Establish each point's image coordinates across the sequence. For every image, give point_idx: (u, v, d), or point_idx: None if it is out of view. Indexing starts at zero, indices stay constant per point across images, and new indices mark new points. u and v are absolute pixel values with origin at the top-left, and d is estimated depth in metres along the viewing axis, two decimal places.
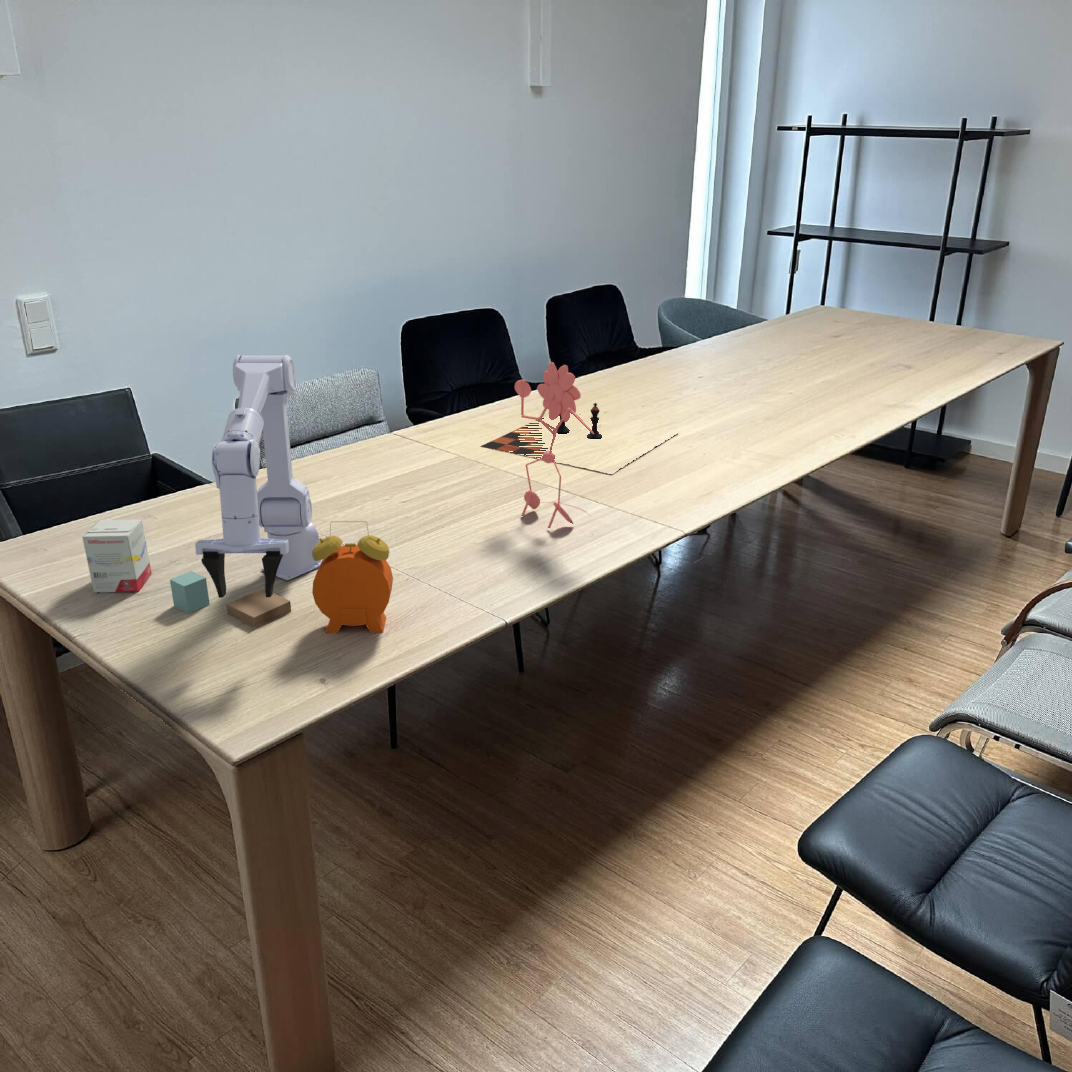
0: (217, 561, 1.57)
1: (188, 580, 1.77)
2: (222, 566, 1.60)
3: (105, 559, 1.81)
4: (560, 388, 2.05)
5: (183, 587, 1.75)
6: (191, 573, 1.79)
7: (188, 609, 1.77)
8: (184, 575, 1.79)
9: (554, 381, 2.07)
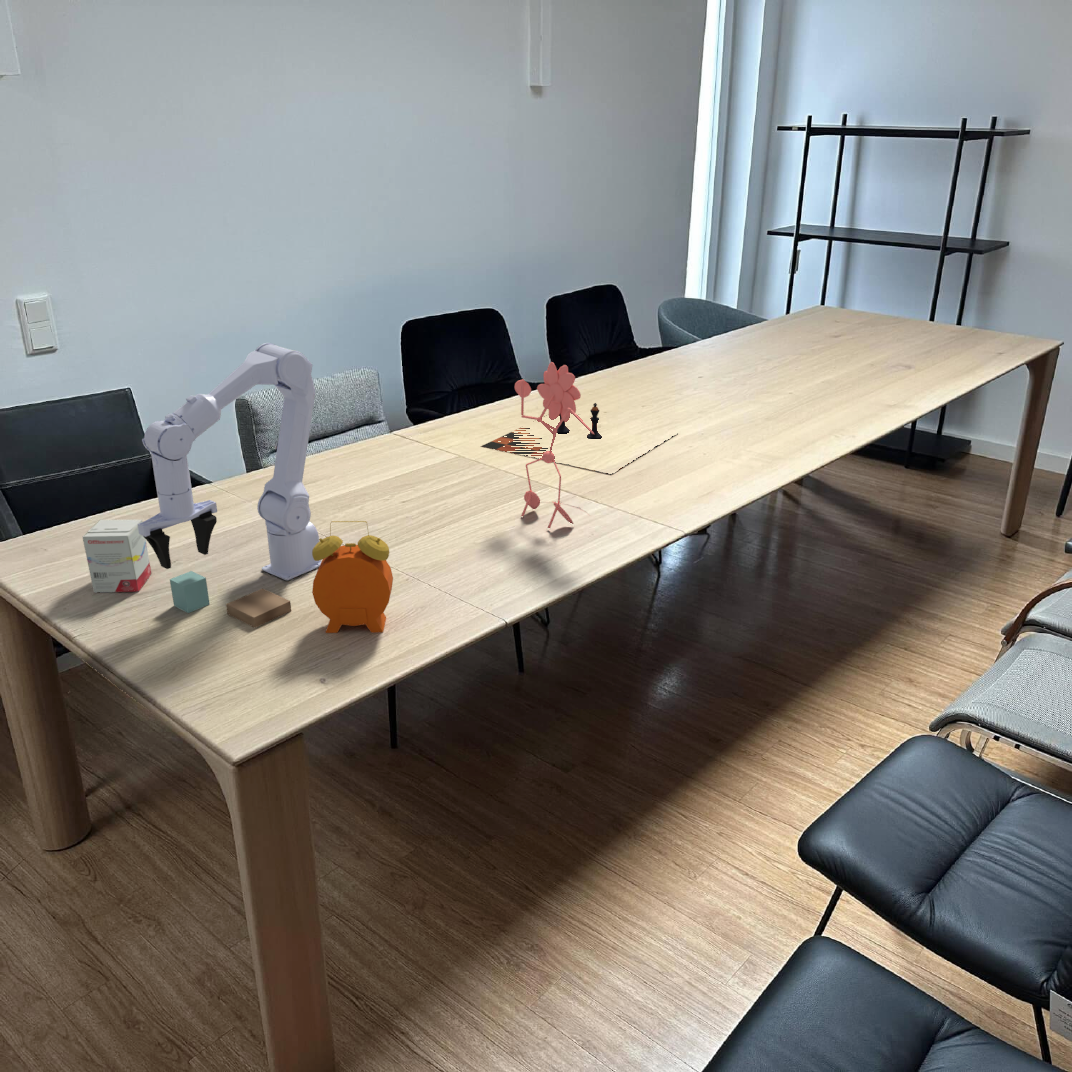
0: (192, 519, 1.77)
1: (188, 580, 1.77)
2: (201, 530, 1.76)
3: (105, 559, 1.81)
4: (560, 388, 2.05)
5: (183, 587, 1.75)
6: (191, 573, 1.79)
7: (188, 609, 1.77)
8: (184, 575, 1.79)
9: (554, 381, 2.07)
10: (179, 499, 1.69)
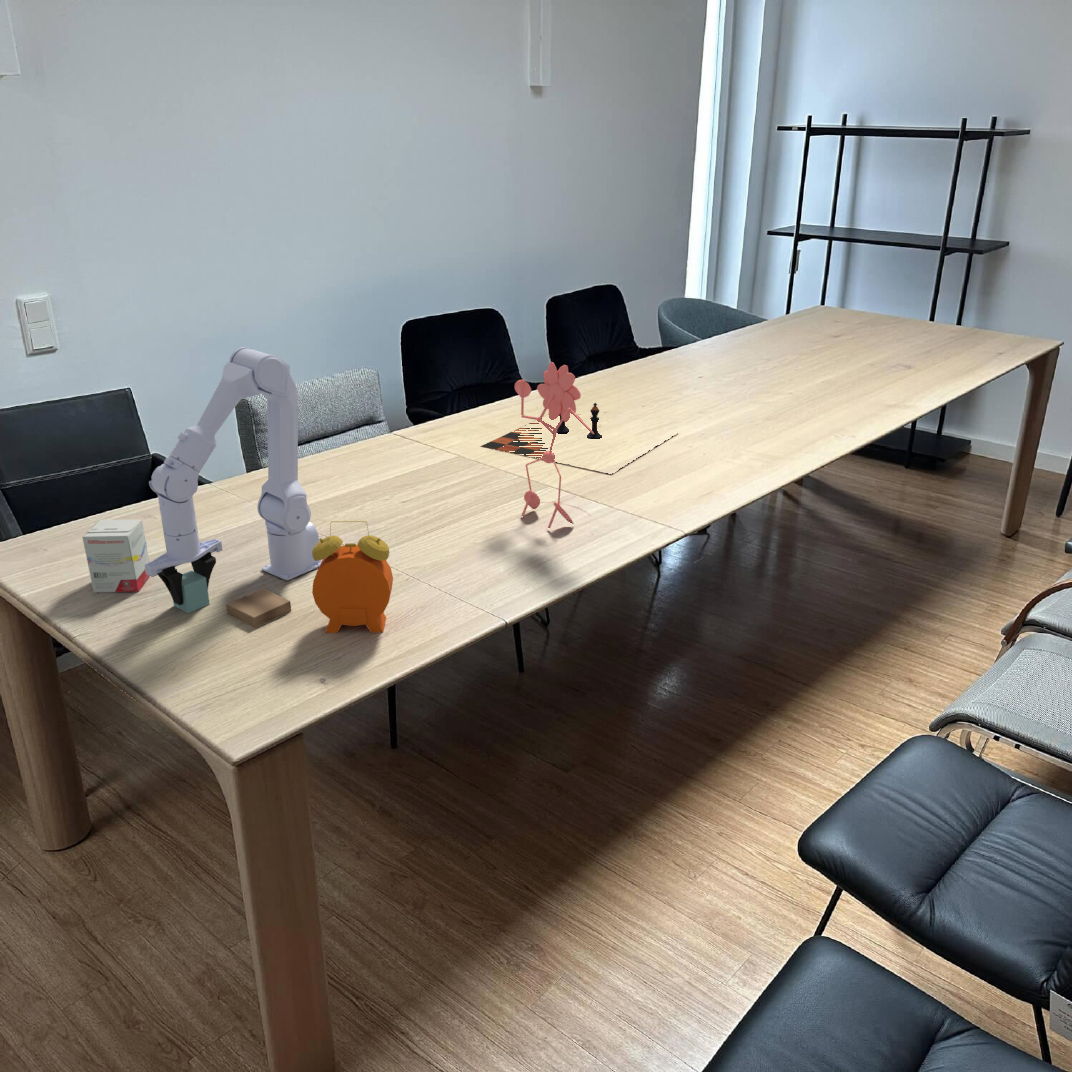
0: None
1: (188, 579, 1.77)
2: (201, 571, 1.79)
3: (105, 559, 1.81)
4: (560, 388, 2.05)
5: (183, 587, 1.75)
6: (191, 573, 1.79)
7: (188, 609, 1.77)
8: (184, 575, 1.79)
9: (554, 381, 2.07)
10: (185, 540, 1.72)
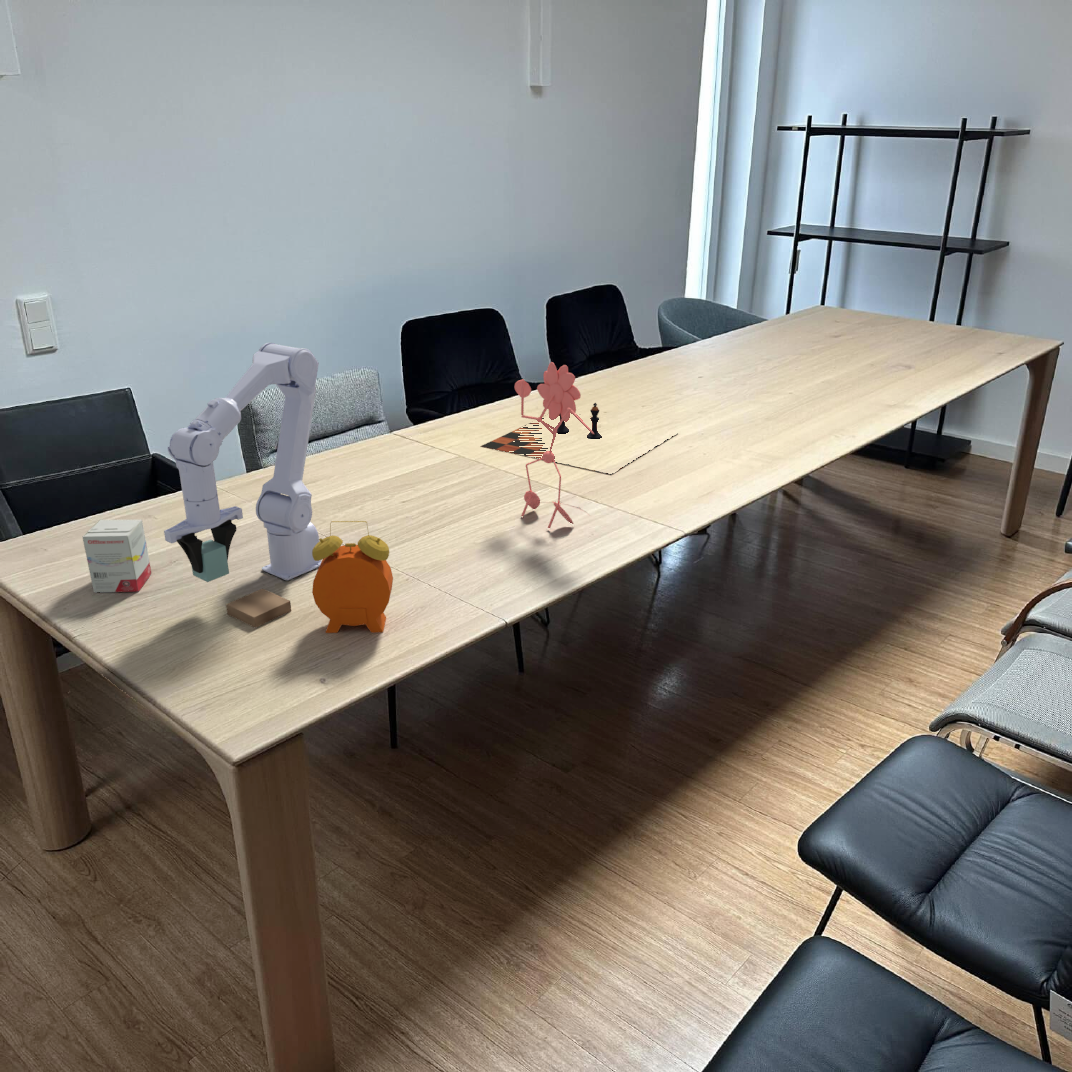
0: (212, 527, 1.76)
1: (208, 548, 1.73)
2: (221, 539, 1.75)
3: (105, 559, 1.81)
4: (560, 388, 2.05)
5: (202, 555, 1.72)
6: (210, 541, 1.76)
7: (207, 578, 1.73)
8: (203, 543, 1.75)
9: (554, 381, 2.07)
10: (205, 506, 1.68)
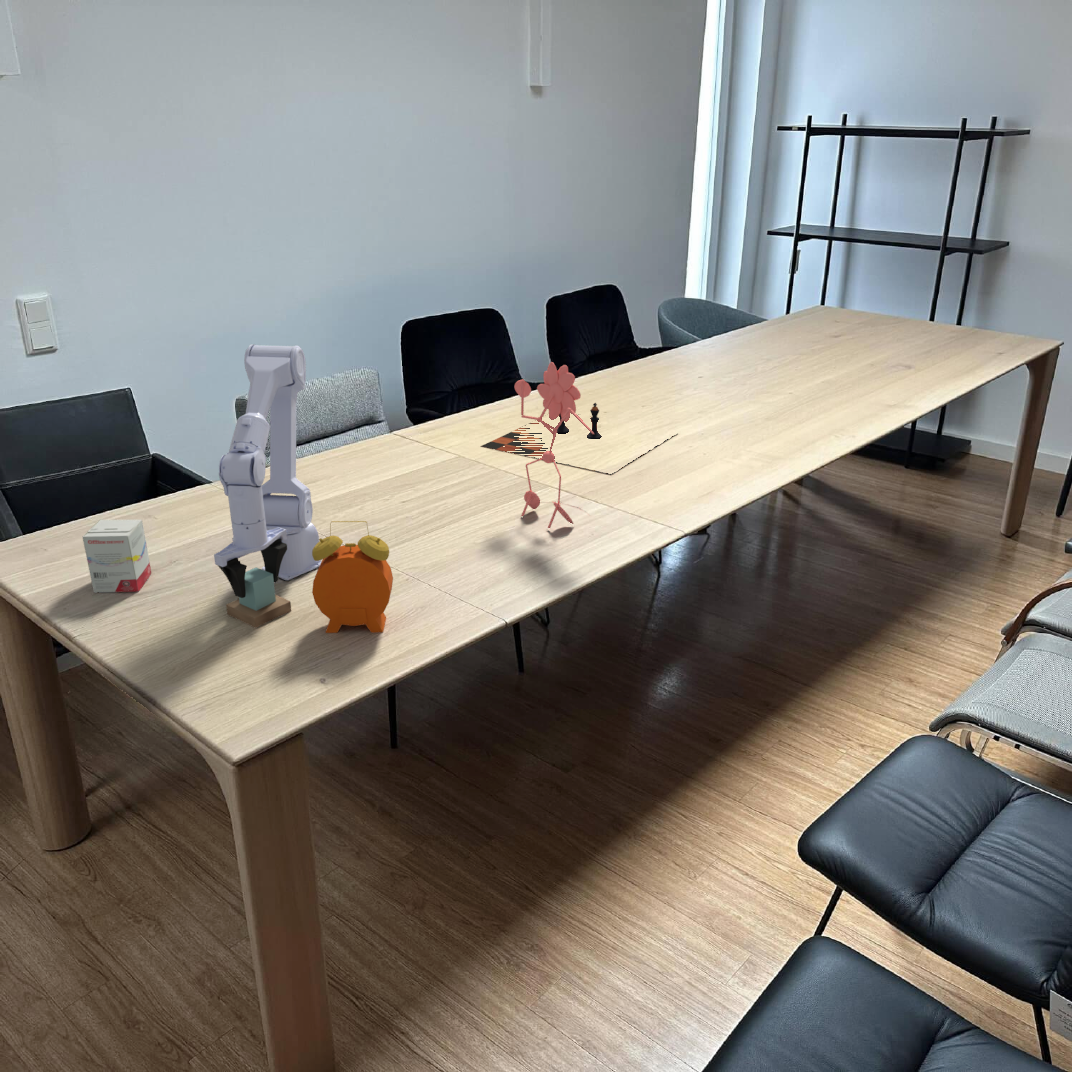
0: None
1: (256, 576, 1.74)
2: (272, 558, 1.76)
3: (105, 559, 1.81)
4: (560, 388, 2.05)
5: (252, 584, 1.72)
6: (256, 570, 1.76)
7: (256, 606, 1.74)
8: (250, 572, 1.75)
9: (554, 381, 2.07)
10: (255, 528, 1.68)
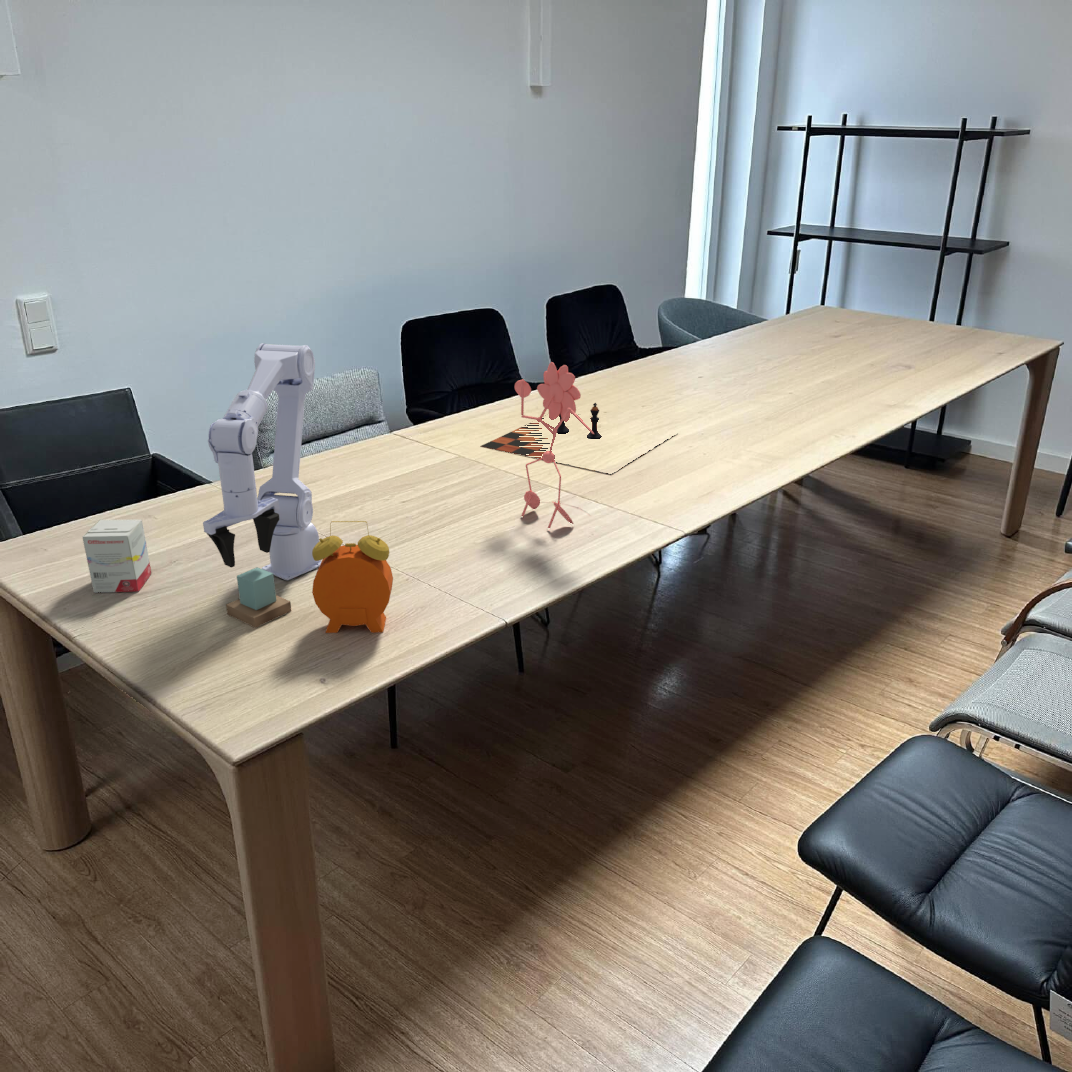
0: None
1: (256, 576, 1.74)
2: (264, 528, 1.74)
3: (105, 559, 1.81)
4: (560, 388, 2.05)
5: (251, 583, 1.72)
6: (257, 569, 1.76)
7: (256, 606, 1.74)
8: (250, 571, 1.76)
9: (554, 381, 2.07)
10: (244, 497, 1.67)
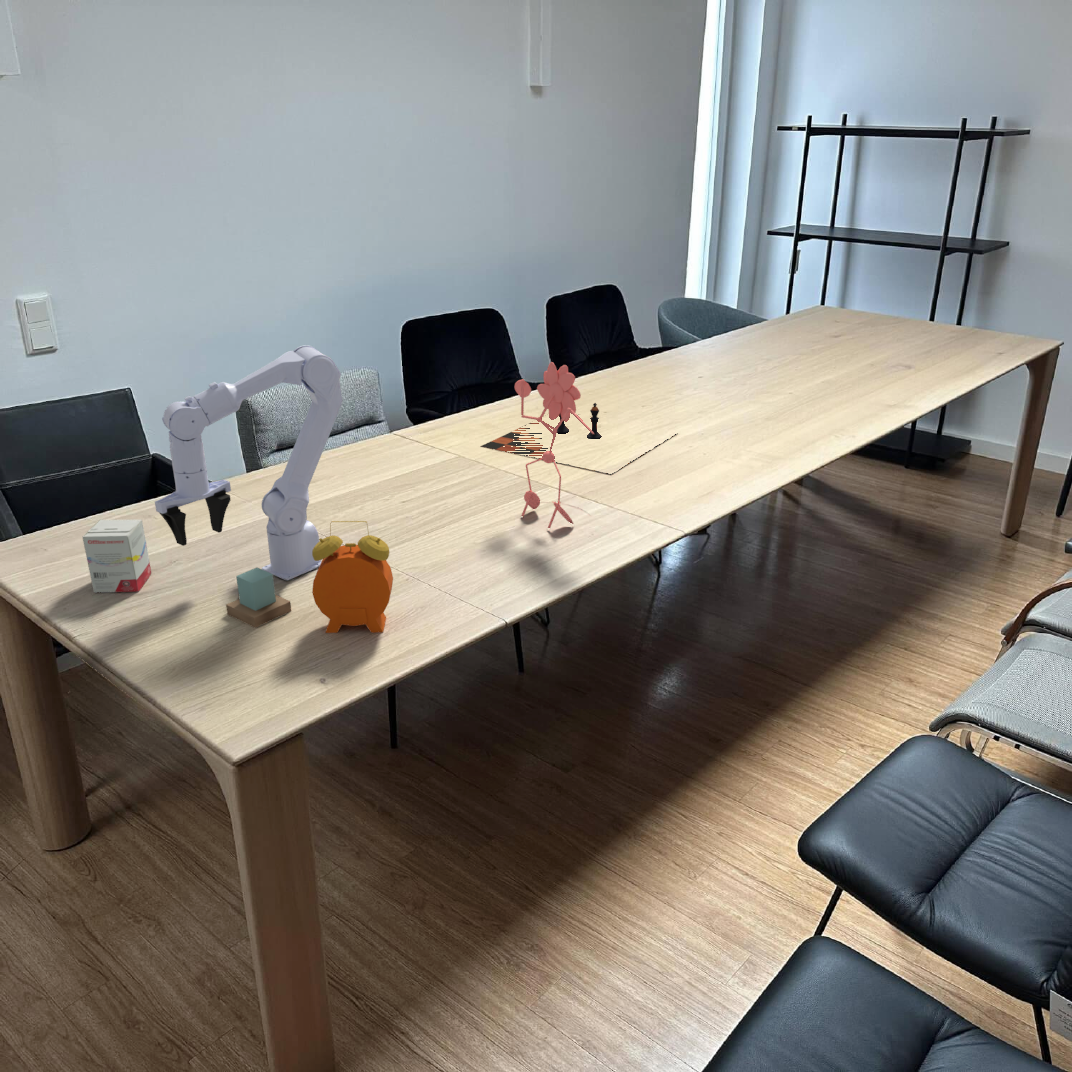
0: (207, 497, 1.83)
1: (255, 577, 1.74)
2: (216, 508, 1.82)
3: (105, 559, 1.81)
4: (560, 388, 2.05)
5: (251, 584, 1.72)
6: (257, 570, 1.76)
7: (255, 606, 1.74)
8: (250, 572, 1.75)
9: (554, 381, 2.07)
10: (195, 478, 1.75)
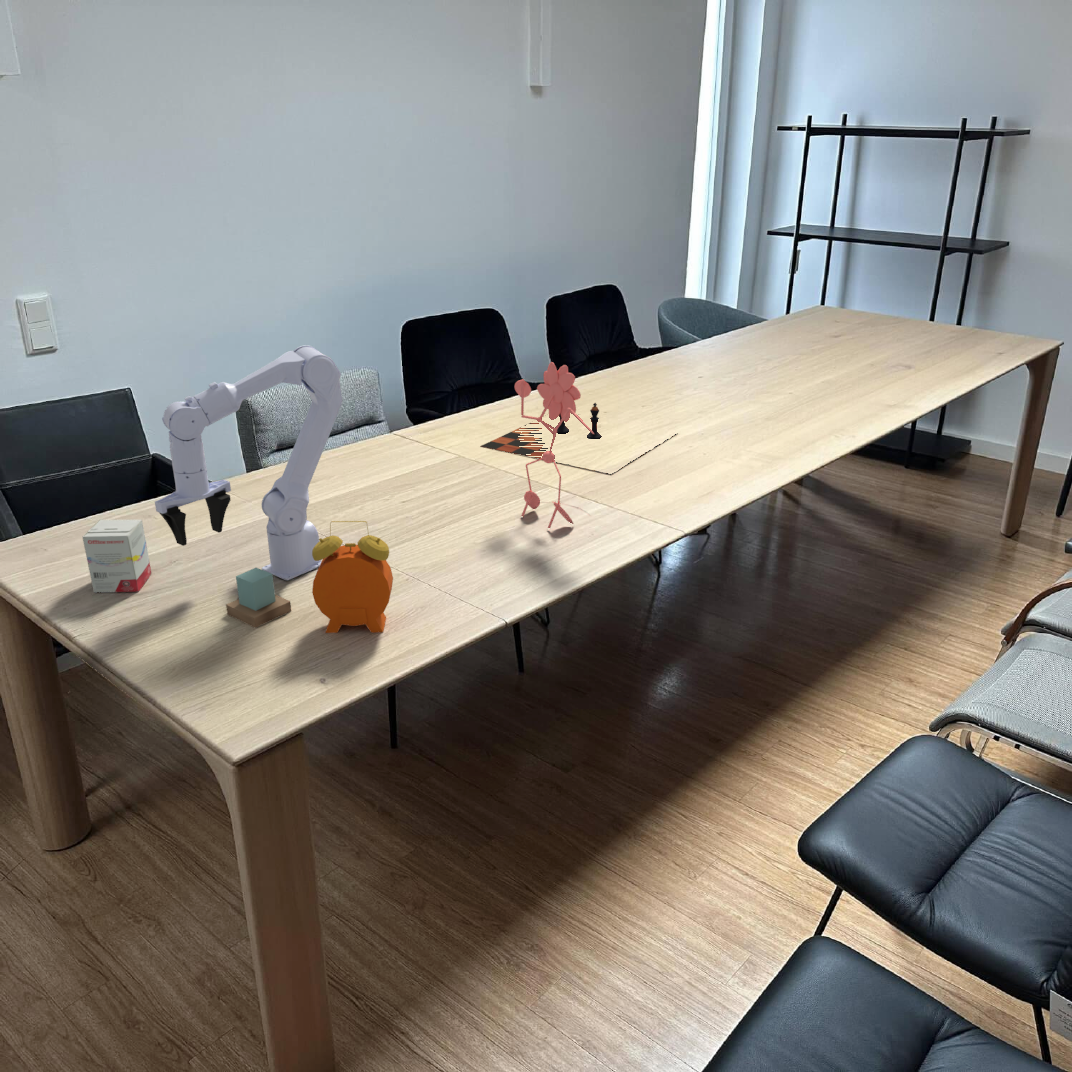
0: (207, 497, 1.83)
1: (255, 576, 1.74)
2: (216, 508, 1.82)
3: (105, 559, 1.81)
4: (560, 388, 2.05)
5: (251, 584, 1.72)
6: (256, 570, 1.76)
7: (256, 606, 1.74)
8: (250, 572, 1.75)
9: (554, 381, 2.07)
10: (195, 478, 1.75)
